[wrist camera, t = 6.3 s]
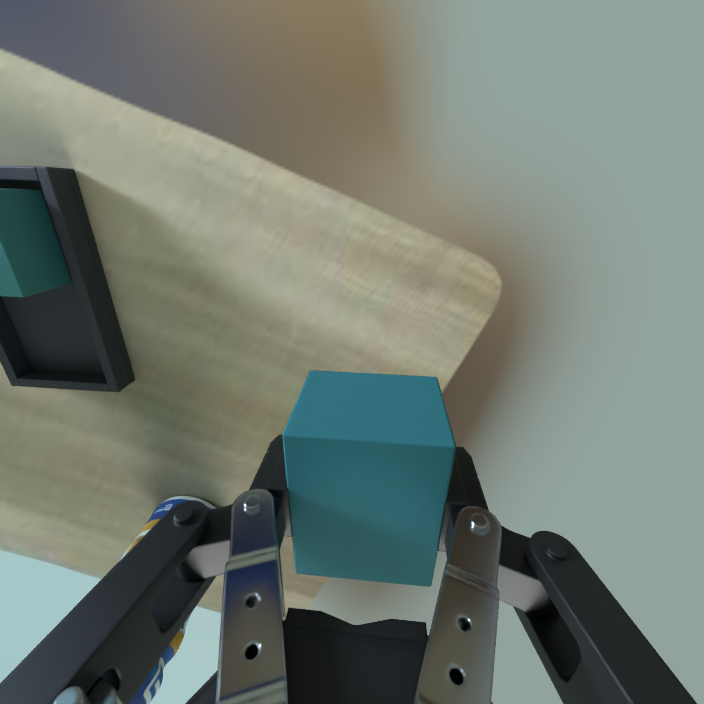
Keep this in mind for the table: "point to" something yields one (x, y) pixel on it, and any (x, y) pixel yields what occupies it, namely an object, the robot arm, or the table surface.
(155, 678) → the beverage bottle
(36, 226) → the seated pad
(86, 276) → the pad tray
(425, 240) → the table surface
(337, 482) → the loose pad
